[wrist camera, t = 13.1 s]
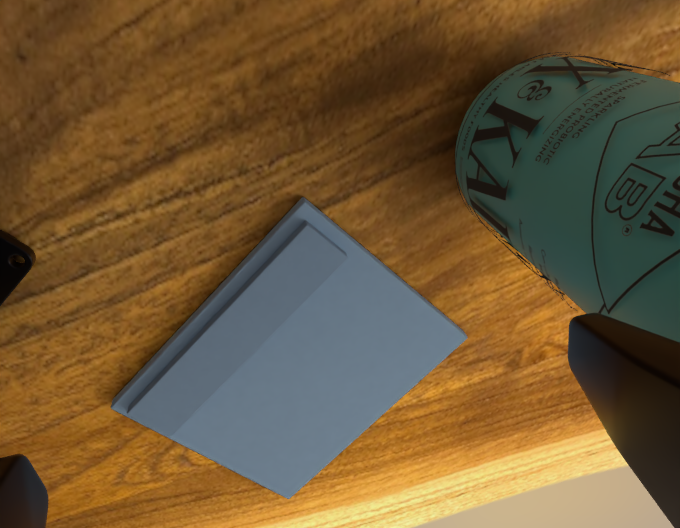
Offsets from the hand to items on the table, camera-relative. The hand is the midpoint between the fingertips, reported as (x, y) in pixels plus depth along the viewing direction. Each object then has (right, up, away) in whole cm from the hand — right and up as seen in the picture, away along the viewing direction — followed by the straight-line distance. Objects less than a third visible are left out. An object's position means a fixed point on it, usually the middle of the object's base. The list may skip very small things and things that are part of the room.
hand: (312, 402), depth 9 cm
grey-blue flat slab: (-2, -2, +16) cm, 16 cm away
